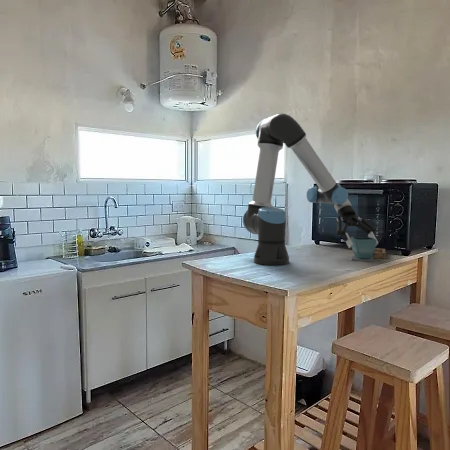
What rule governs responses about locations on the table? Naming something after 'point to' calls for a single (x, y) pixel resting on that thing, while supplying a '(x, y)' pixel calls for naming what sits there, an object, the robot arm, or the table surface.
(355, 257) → the mat
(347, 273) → the table surface
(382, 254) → the wooden tray
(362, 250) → the flower pot
